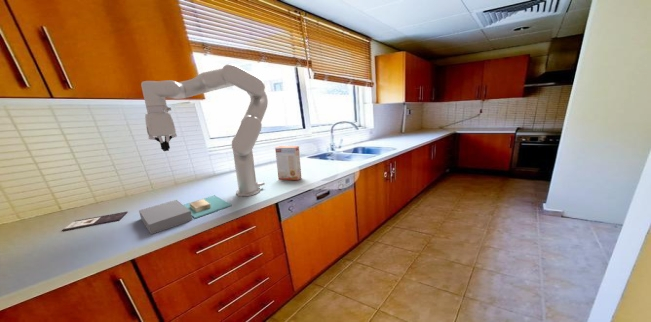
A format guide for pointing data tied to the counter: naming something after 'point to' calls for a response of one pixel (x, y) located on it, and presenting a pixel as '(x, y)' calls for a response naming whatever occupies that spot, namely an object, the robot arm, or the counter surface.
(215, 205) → the mat
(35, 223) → the counter surface
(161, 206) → the block
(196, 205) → the tan rectangular block
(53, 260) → the counter surface
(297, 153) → the cracker box
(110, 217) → the chocolate bar
